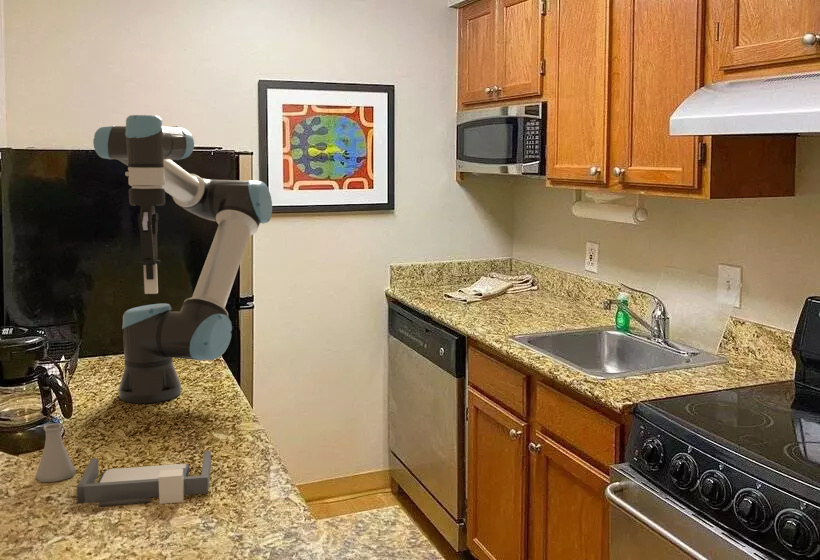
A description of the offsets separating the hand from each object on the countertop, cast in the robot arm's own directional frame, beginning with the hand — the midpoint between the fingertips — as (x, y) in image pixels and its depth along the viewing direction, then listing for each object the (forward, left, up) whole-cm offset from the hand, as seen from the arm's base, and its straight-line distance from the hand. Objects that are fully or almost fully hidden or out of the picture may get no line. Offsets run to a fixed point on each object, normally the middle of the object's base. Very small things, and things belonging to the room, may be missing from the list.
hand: (151, 293), depth 172 cm
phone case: (+32, +1, -31) cm, 45 cm away
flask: (+27, -16, -31) cm, 44 cm away
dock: (+35, +2, -30) cm, 46 cm away
